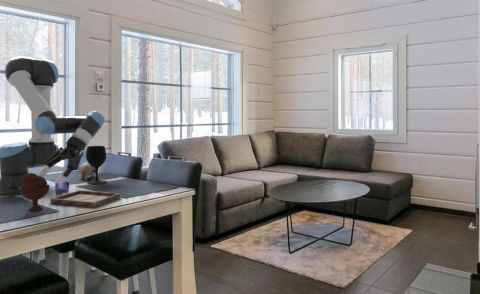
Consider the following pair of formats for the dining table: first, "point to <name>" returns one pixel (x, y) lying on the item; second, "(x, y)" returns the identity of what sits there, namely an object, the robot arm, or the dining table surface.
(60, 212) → the dining table surface
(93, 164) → the wine glass
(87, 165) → the elephant figurine
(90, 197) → the tray
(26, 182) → the ice cream bowl
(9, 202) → the dining table surface
